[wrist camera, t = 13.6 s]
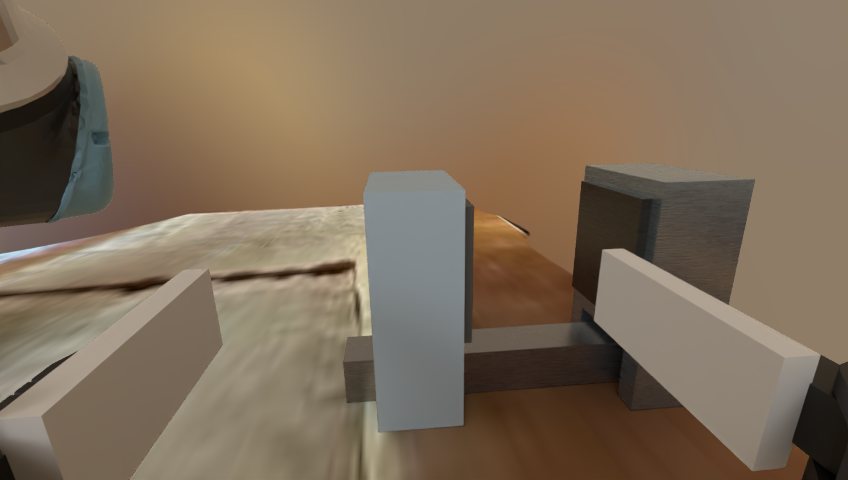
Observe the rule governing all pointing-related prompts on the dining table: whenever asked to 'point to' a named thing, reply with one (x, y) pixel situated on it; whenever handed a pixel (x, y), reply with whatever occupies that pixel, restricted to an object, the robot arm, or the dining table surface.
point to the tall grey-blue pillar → (419, 296)
